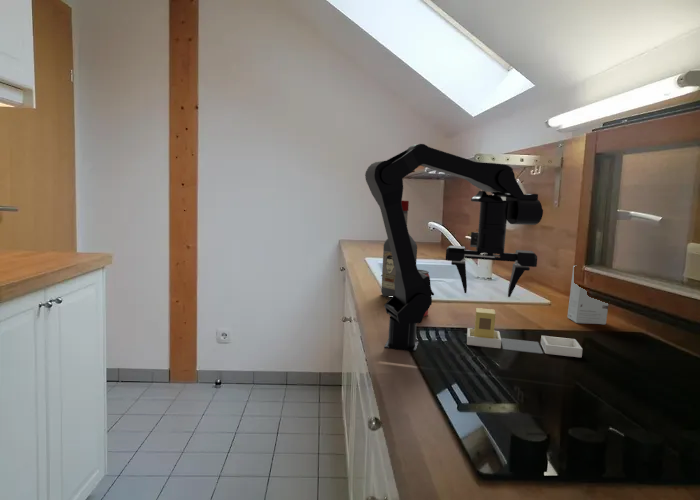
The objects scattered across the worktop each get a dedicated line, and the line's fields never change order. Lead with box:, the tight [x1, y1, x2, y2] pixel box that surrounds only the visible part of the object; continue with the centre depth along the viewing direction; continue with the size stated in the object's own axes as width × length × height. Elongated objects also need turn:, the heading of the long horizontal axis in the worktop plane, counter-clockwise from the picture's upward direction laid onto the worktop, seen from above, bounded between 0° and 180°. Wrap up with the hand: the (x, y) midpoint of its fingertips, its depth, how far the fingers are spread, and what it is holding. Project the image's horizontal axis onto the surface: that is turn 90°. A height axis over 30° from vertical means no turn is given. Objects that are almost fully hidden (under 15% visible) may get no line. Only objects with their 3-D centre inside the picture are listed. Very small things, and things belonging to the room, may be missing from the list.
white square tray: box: [540, 335, 583, 358], centre depth 103 cm, size 7×7×2 cm
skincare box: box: [567, 265, 609, 325], centre depth 130 cm, size 8×6×15 cm
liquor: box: [380, 200, 418, 298], centre depth 151 cm, size 9×9×30 cm
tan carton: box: [474, 307, 496, 339], centre depth 107 cm, size 4×4×7 cm
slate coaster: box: [501, 337, 544, 355], centre depth 105 cm, size 8×8×1 cm
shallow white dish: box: [466, 327, 502, 349], centre depth 107 cm, size 7×7×2 cm
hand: (486, 294), depth 106 cm, fingers open, 9 cm apart
